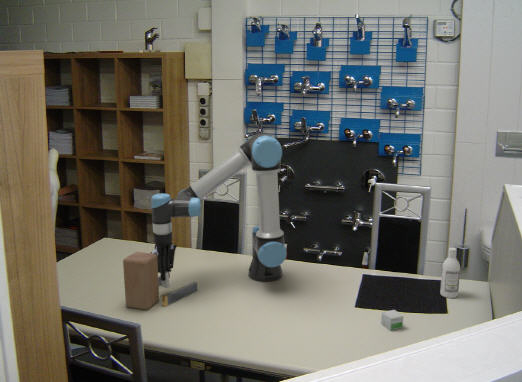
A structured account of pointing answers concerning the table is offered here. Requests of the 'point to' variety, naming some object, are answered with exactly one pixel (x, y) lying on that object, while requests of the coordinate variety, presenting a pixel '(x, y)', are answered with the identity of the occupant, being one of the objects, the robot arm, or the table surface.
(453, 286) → the bath foam
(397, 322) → the small box
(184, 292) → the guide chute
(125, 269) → the wooden block
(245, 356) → the table surface
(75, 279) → the table surface
